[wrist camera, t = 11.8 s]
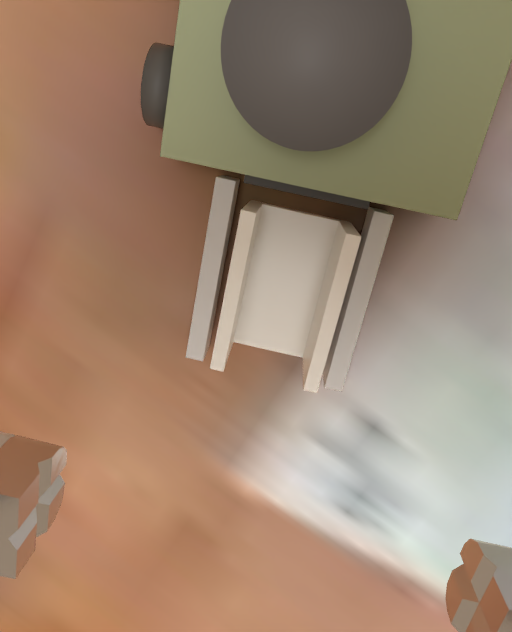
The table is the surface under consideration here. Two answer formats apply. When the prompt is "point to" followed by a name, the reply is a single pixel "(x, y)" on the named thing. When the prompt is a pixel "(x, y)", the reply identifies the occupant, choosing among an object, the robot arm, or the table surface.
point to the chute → (286, 285)
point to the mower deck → (387, 150)
